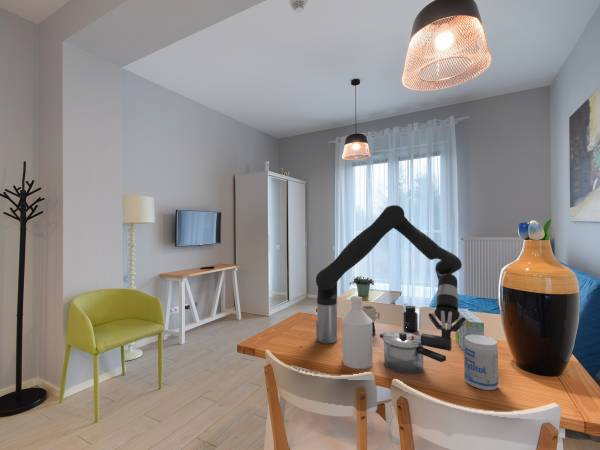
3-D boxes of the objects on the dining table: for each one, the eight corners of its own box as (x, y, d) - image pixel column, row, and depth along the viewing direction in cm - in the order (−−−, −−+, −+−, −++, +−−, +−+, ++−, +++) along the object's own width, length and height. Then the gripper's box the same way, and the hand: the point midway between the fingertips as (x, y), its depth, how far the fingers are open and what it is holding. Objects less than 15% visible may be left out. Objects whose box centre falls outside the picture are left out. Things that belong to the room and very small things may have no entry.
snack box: (485, 361, 112) (484, 322, 112) (469, 360, 113) (468, 321, 114) (468, 341, 133) (467, 308, 133) (454, 340, 134) (453, 307, 134)
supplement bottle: (403, 331, 146) (402, 307, 146) (403, 327, 152) (403, 304, 152) (417, 333, 143) (417, 309, 143) (417, 329, 150) (417, 305, 150)
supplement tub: (461, 384, 96) (460, 339, 96) (467, 373, 103) (466, 332, 103) (496, 395, 89) (495, 347, 90) (500, 382, 97) (499, 338, 97)
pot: (370, 359, 115) (369, 336, 115) (394, 351, 123) (393, 329, 123) (431, 390, 92) (430, 362, 93) (456, 378, 100) (455, 351, 100)
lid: (377, 343, 108) (377, 333, 108) (389, 331, 120) (389, 322, 120) (448, 358, 95) (447, 346, 95) (453, 343, 107) (453, 333, 107)
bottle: (336, 358, 116) (335, 296, 117) (360, 353, 121) (359, 293, 121) (353, 371, 105) (352, 302, 106) (379, 365, 110) (378, 299, 111)
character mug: (381, 332, 144) (381, 306, 145) (378, 337, 138) (377, 310, 139) (360, 329, 150) (360, 304, 150) (356, 333, 144) (355, 307, 144)
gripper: (428, 291, 116) (424, 332, 105) (466, 295, 109) (467, 338, 98) (429, 302, 120) (427, 342, 109) (466, 305, 113) (467, 348, 103)
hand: (446, 340), depth 104 cm, fingers closed
